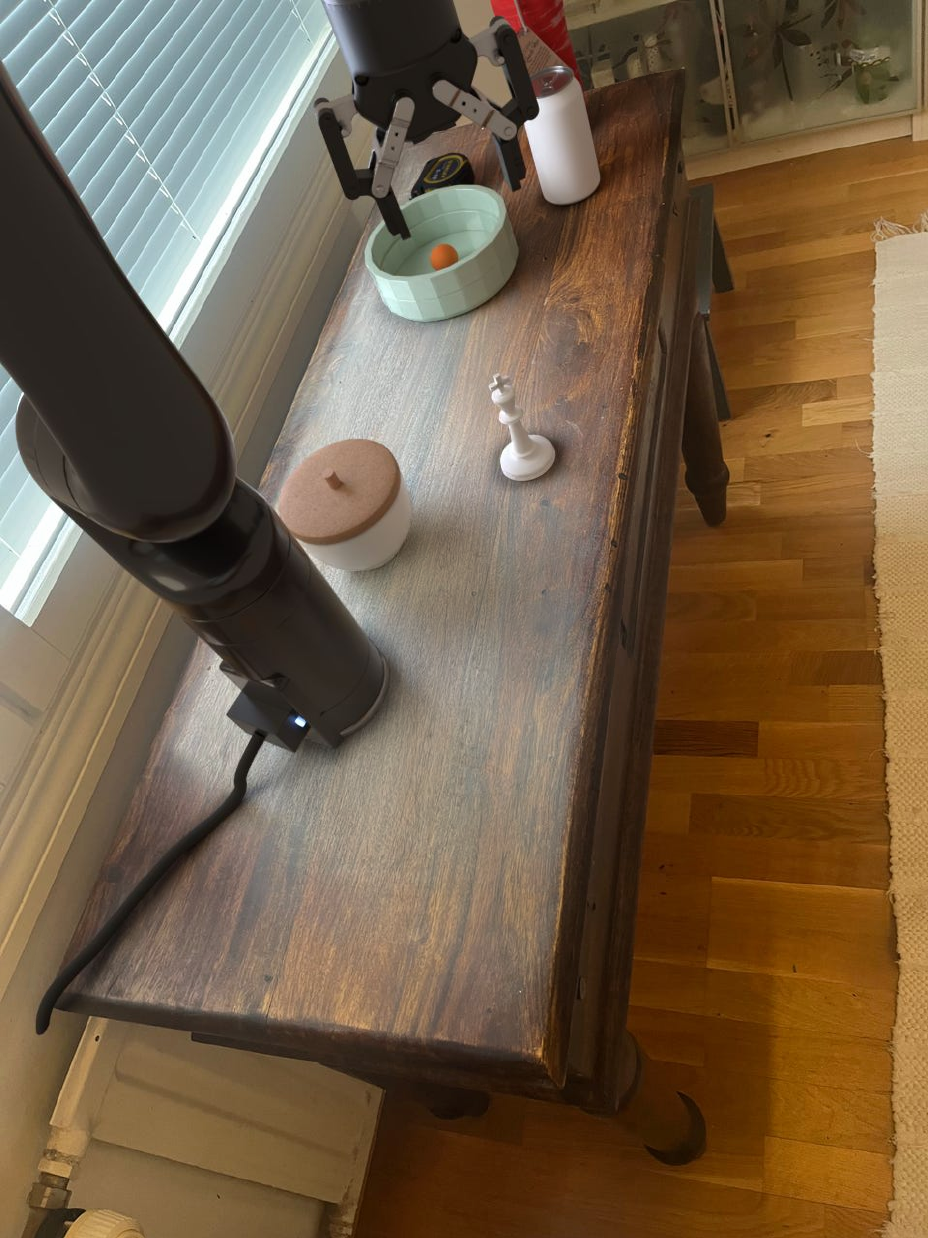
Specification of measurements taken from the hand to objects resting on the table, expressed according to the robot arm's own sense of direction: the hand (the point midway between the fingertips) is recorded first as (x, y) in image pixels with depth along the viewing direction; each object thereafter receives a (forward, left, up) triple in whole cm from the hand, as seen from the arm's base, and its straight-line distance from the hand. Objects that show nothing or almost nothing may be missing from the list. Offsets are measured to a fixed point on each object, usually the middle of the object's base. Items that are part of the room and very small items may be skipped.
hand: (459, 209), depth 67 cm
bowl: (+19, +20, -22) cm, 35 cm away
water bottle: (+43, +18, -22) cm, 51 cm away
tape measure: (+32, +28, -22) cm, 48 cm away
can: (+34, +12, -22) cm, 42 cm away
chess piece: (-4, -1, -22) cm, 23 cm away
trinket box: (-16, +9, -22) cm, 29 cm away
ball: (+19, +20, -20) cm, 34 cm away
